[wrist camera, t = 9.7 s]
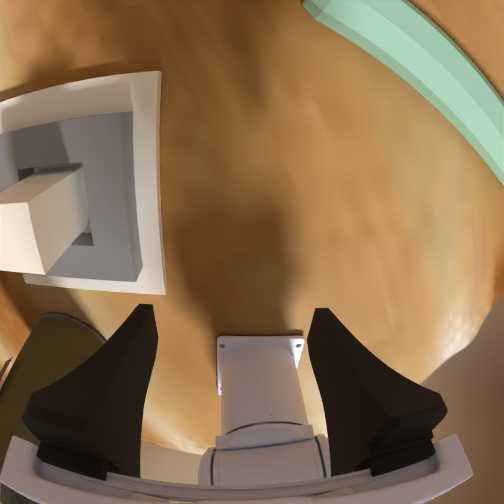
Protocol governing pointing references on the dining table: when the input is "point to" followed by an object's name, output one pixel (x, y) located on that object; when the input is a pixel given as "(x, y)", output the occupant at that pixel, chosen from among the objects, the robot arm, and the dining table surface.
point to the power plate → (145, 154)
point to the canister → (40, 377)
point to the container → (424, 65)
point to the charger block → (41, 218)
